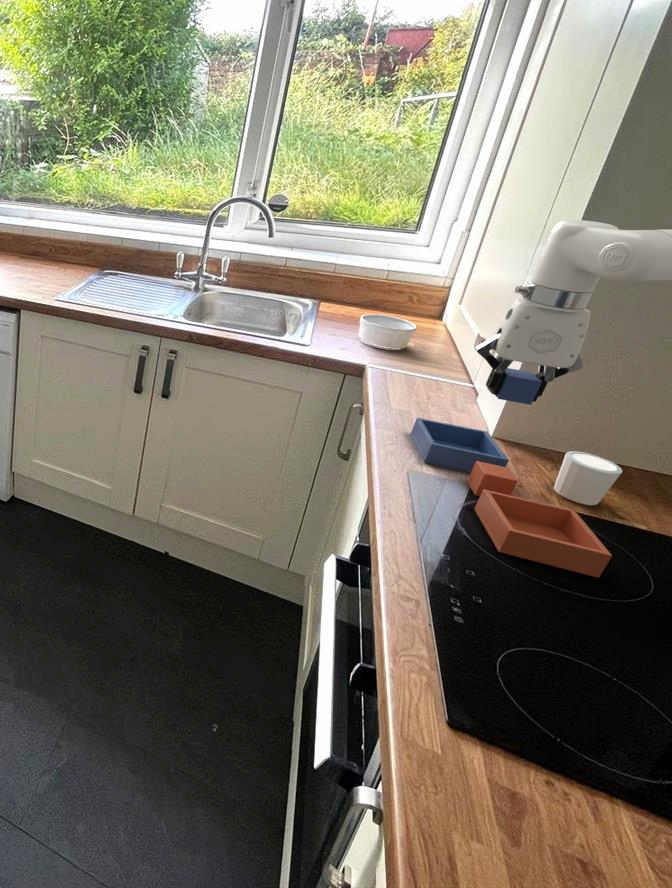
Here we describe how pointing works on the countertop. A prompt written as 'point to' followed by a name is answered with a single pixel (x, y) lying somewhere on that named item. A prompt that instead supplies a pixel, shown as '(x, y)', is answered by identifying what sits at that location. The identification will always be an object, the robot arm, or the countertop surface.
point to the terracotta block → (491, 479)
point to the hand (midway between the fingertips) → (510, 394)
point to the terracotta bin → (541, 533)
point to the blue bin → (455, 445)
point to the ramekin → (385, 331)
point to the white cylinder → (585, 477)
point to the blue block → (519, 386)
